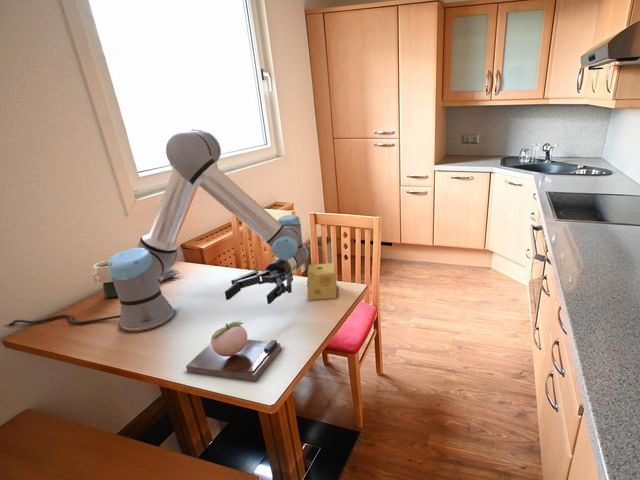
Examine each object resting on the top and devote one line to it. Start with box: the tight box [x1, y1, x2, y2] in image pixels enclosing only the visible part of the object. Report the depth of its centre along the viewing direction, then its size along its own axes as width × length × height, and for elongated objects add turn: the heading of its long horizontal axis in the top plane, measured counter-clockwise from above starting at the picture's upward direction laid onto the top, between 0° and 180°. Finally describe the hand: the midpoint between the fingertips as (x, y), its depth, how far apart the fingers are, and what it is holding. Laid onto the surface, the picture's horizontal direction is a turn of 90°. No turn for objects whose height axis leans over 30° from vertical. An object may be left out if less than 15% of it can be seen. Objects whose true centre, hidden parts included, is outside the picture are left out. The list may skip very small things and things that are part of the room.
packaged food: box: [158, 267, 181, 282], centre depth 156 cm, size 9×12×5 cm
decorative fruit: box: [210, 321, 248, 357], centre depth 101 cm, size 9×8×10 cm
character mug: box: [91, 260, 118, 298], centre depth 141 cm, size 11×7×13 cm, turn 159°
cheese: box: [306, 262, 338, 301], centre depth 138 cm, size 10×11×10 cm
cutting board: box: [185, 338, 282, 383], centre depth 104 cm, size 20×14×3 cm
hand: (247, 297), depth 111 cm, fingers open, 13 cm apart
